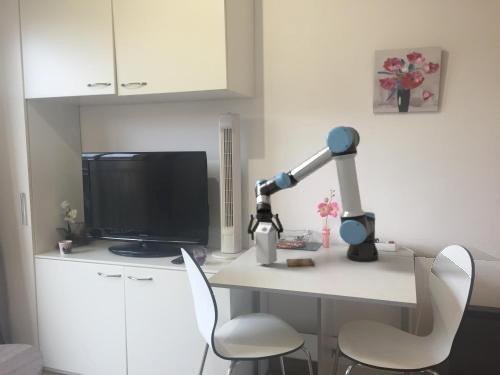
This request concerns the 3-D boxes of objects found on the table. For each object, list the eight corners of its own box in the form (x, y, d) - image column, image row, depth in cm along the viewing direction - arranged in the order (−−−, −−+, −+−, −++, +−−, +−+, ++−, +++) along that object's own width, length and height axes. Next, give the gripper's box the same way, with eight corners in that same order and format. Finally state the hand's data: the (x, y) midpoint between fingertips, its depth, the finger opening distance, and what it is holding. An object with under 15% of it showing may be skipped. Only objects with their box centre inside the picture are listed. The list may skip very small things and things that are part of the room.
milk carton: (264, 259, 204) (263, 220, 202) (276, 261, 200) (275, 221, 198) (256, 262, 199) (254, 223, 197) (268, 264, 194) (267, 224, 192)
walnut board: (310, 260, 205) (310, 258, 205) (314, 266, 195) (314, 264, 195) (286, 261, 205) (286, 259, 204) (288, 267, 195) (288, 265, 195)
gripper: (285, 210, 213) (289, 248, 198) (241, 211, 212) (242, 250, 198) (286, 201, 207) (290, 239, 193) (241, 202, 206) (242, 241, 192)
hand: (266, 245), depth 195 cm, fingers closed on milk carton, 10 cm apart
